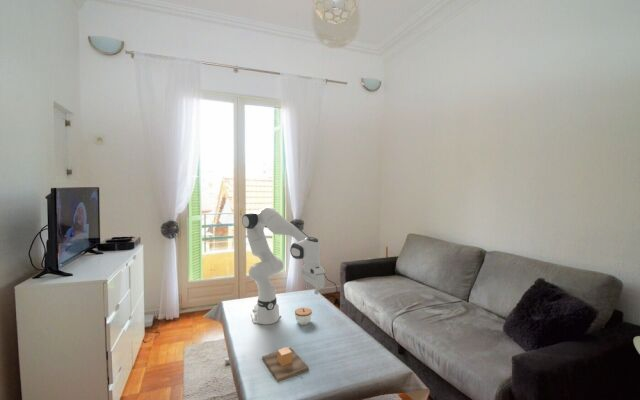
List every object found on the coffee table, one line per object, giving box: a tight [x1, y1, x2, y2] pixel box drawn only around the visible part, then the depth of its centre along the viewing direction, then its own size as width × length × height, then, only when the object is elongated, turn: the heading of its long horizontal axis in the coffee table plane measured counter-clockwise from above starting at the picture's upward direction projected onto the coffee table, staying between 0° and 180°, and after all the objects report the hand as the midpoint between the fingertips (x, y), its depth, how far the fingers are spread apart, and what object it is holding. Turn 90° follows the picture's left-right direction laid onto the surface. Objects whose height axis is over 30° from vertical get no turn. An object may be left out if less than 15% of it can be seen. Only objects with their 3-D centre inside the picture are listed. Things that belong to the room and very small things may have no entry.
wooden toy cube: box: [276, 346, 292, 366], centre depth 147 cm, size 5×5×6 cm
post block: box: [261, 346, 310, 383], centre depth 147 cm, size 20×16×5 cm
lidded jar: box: [294, 306, 313, 326], centre depth 190 cm, size 11×11×9 cm
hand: (312, 291), depth 166 cm, fingers open, 8 cm apart
